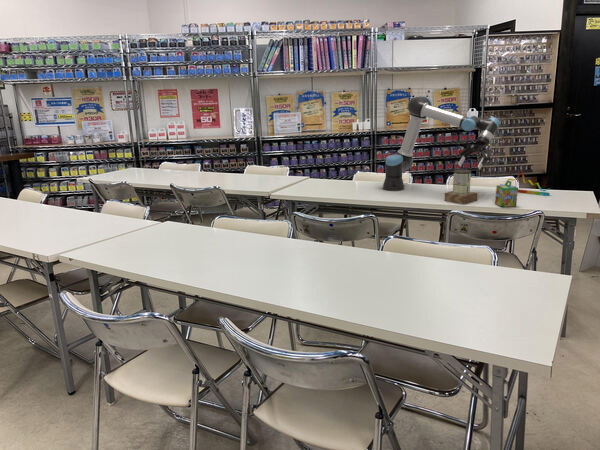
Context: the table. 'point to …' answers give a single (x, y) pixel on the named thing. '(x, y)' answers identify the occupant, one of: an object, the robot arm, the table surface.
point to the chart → (528, 190)
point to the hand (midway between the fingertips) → (468, 166)
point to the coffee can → (461, 181)
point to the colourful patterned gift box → (506, 195)
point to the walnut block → (461, 197)
